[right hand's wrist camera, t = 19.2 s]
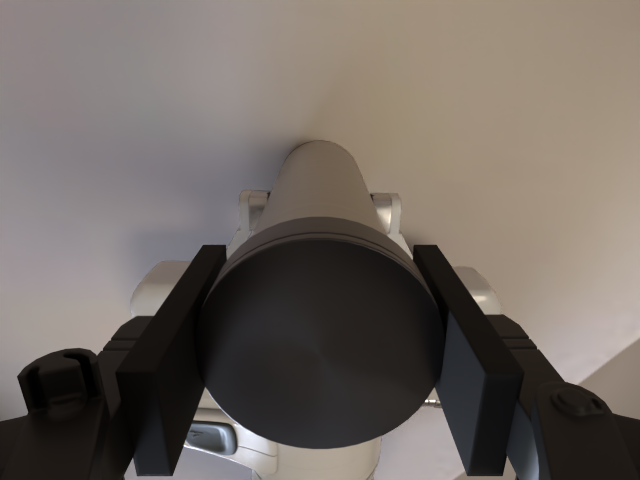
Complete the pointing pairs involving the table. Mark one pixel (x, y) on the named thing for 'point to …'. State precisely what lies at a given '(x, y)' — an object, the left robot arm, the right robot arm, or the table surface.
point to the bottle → (320, 188)
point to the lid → (319, 334)
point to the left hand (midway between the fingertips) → (319, 193)
